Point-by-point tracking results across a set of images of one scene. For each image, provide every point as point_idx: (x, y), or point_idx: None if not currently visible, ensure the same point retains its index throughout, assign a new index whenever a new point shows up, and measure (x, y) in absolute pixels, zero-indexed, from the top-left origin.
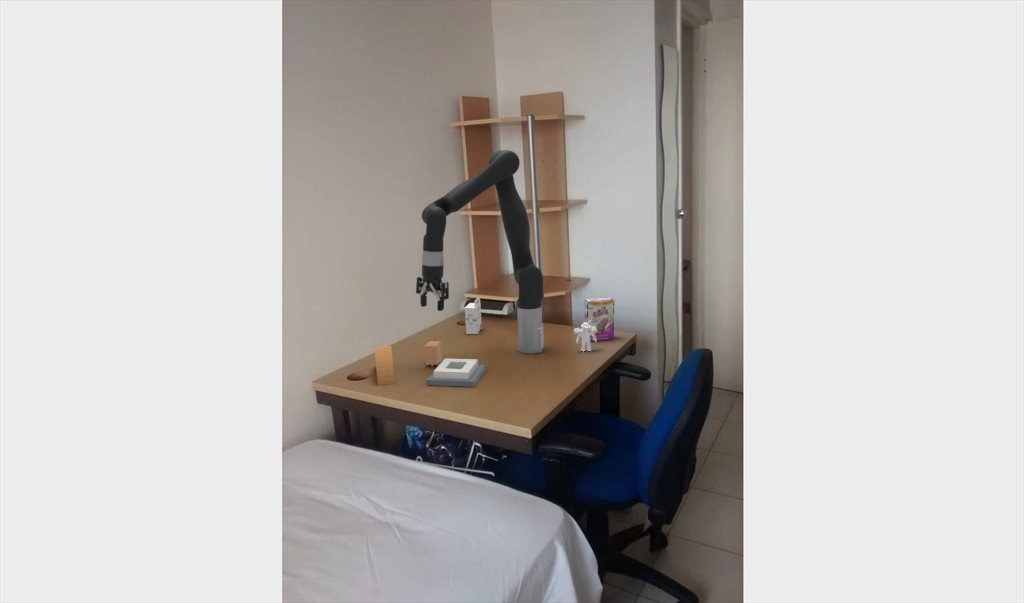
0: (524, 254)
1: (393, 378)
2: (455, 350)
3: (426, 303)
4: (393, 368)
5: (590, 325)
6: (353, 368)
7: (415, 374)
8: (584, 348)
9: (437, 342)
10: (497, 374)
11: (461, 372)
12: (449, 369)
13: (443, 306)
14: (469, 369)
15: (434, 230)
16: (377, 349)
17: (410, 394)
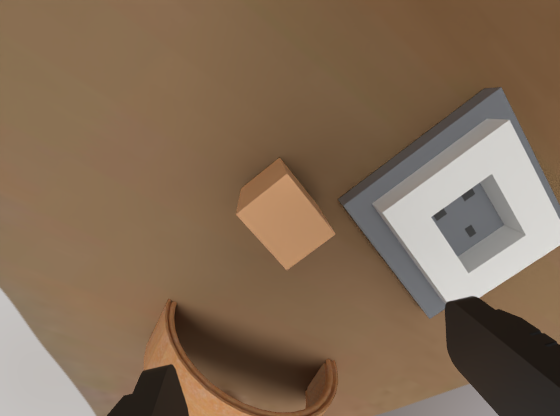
0: None
1: (336, 375)
2: (173, 4)
3: (165, 387)
4: (334, 395)
5: None
6: (119, 392)
7: (314, 287)
8: None
9: (287, 196)
10: (549, 82)
11: (545, 252)
12: (490, 268)
13: (540, 338)
14: (554, 217)
15: None
16: None
17: (433, 364)
